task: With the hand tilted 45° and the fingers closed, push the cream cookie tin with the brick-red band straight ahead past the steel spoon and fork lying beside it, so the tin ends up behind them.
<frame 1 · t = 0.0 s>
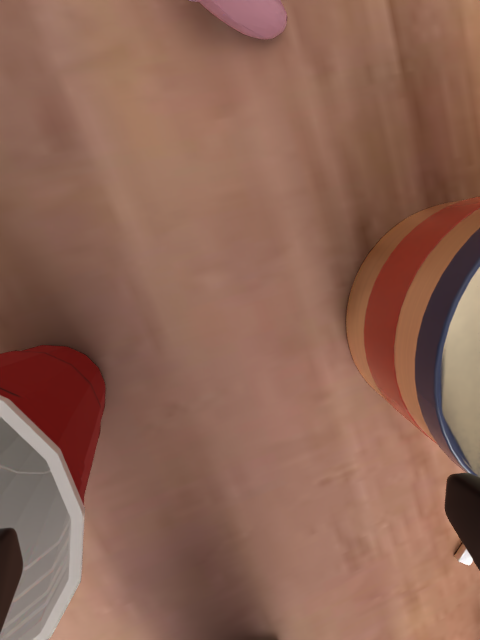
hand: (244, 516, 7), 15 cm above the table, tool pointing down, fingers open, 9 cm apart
plastic cup: (58, 384, 21), on the table
tin: (447, 313, 23), on the table
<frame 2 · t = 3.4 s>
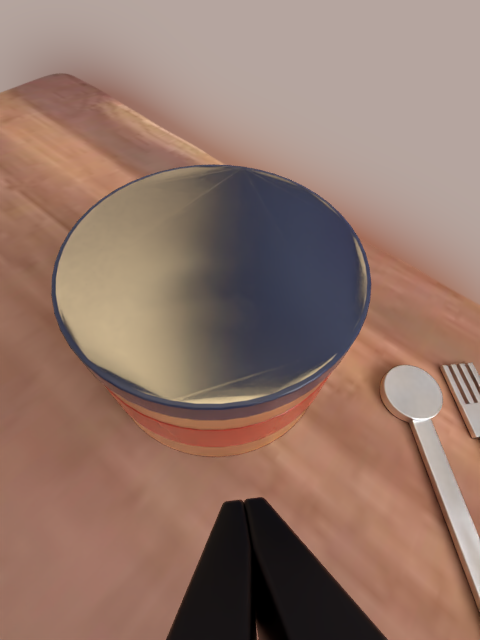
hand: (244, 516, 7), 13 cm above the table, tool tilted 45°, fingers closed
spoon: (440, 480, 19), on the table
tin: (218, 348, 23), on the table
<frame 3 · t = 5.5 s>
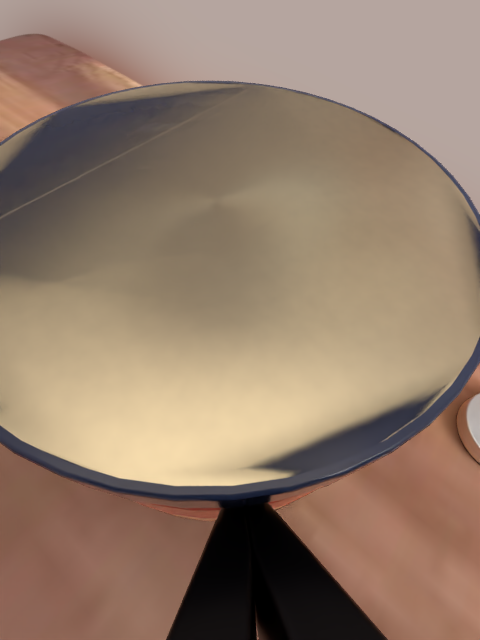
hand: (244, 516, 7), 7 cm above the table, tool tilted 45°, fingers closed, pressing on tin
tin: (221, 355, 17), on the table, touching gripper
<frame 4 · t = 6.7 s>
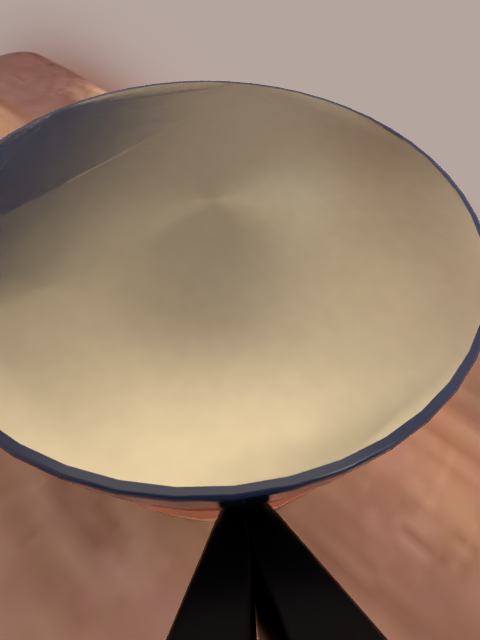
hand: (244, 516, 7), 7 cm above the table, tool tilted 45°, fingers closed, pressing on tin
tin: (219, 355, 17), on the table, touching gripper
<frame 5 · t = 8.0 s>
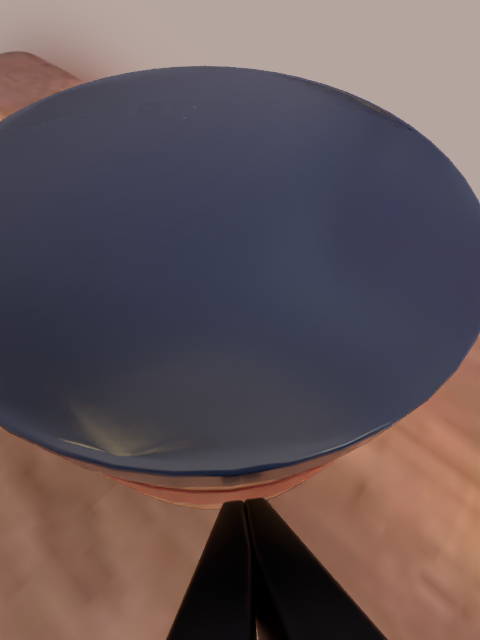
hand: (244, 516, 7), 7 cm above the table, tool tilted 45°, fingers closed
tin: (218, 345, 17), on the table
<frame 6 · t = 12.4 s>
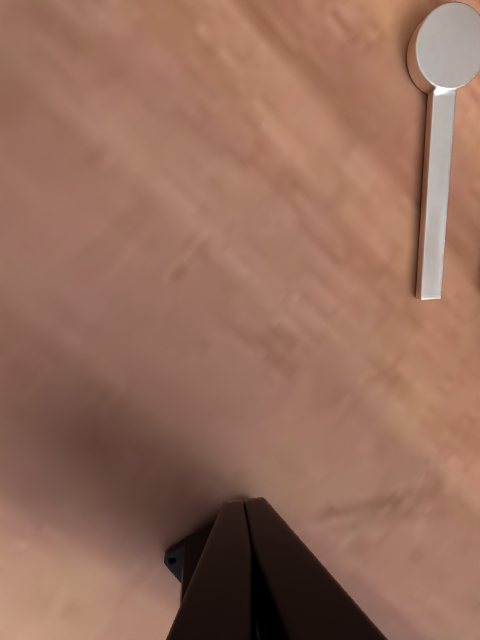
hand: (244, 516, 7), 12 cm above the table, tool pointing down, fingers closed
spoon: (433, 165, 18), on the table
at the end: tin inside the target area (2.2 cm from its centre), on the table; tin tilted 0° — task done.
